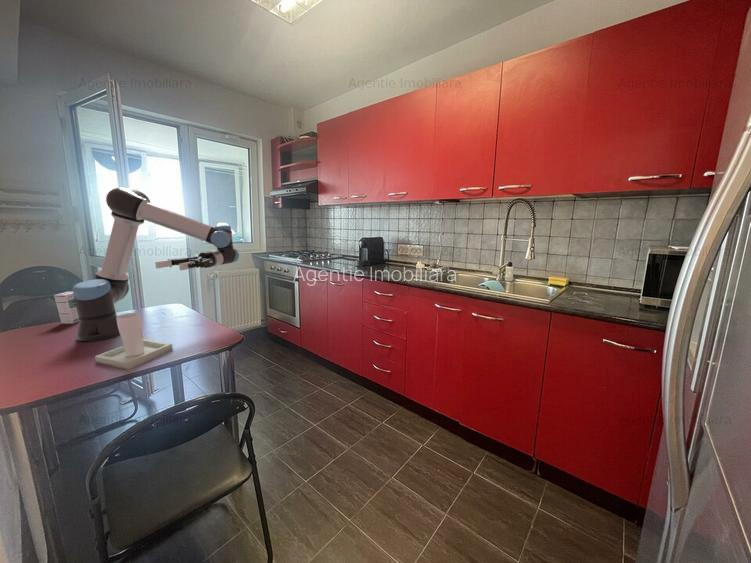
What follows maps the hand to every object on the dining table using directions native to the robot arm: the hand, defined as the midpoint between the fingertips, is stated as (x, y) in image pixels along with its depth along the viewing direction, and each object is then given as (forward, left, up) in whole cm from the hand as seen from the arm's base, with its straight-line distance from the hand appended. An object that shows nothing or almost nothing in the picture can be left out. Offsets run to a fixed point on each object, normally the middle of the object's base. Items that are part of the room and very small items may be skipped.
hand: (167, 266), depth 123 cm
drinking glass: (+5, -21, -29) cm, 36 cm away
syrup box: (-62, -6, -30) cm, 69 cm away
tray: (+5, -21, -30) cm, 37 cm away
